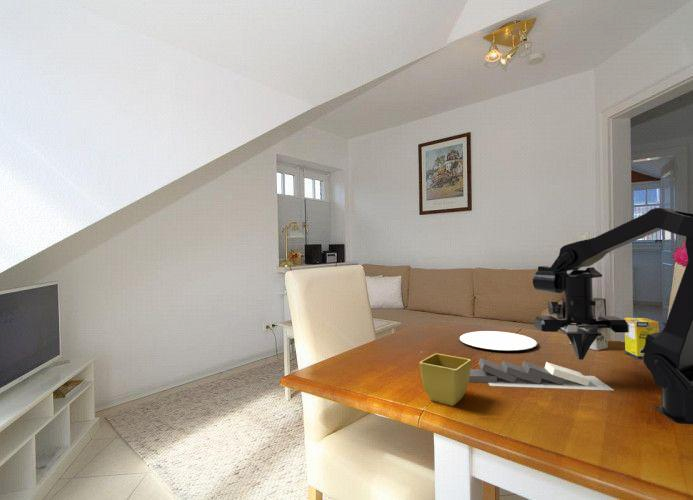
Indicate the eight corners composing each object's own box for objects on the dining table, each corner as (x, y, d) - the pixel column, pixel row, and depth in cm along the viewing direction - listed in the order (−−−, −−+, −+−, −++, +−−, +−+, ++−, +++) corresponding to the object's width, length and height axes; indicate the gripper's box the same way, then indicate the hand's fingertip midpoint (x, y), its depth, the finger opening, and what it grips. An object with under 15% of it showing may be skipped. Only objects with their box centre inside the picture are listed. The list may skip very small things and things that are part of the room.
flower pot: (436, 389, 84) (435, 352, 84) (472, 398, 79) (471, 358, 79) (419, 402, 78) (418, 362, 78) (457, 413, 72) (456, 370, 72)
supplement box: (660, 359, 100) (659, 321, 100) (636, 359, 102) (635, 321, 102) (647, 353, 106) (646, 317, 106) (624, 352, 107) (623, 317, 107)
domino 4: (564, 379, 84) (529, 367, 85) (562, 385, 84) (527, 373, 85) (555, 371, 88) (523, 360, 90) (553, 377, 89) (521, 366, 90)
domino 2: (516, 377, 85) (484, 364, 87) (513, 383, 86) (481, 369, 87) (510, 370, 90) (480, 357, 92) (508, 376, 90) (478, 363, 92)
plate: (445, 339, 131) (445, 334, 131) (500, 332, 138) (500, 328, 138) (492, 358, 107) (492, 353, 107) (555, 349, 114) (555, 344, 114)
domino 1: (496, 376, 86) (462, 376, 88) (496, 382, 86) (463, 382, 88) (491, 369, 91) (460, 369, 93) (492, 375, 91) (460, 375, 93)
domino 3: (541, 378, 84) (507, 367, 86) (539, 384, 84) (505, 373, 86) (534, 370, 89) (502, 360, 91) (532, 376, 89) (500, 366, 91)
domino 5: (589, 379, 82) (554, 368, 84) (587, 386, 83) (552, 374, 84) (579, 372, 87) (546, 361, 89) (577, 378, 88) (544, 367, 89)
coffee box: (609, 348, 113) (607, 298, 113) (597, 351, 110) (595, 300, 110) (579, 341, 121) (578, 295, 121) (568, 344, 118) (566, 297, 118)
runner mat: (614, 392, 80) (614, 390, 80) (489, 387, 85) (489, 385, 85) (594, 377, 89) (593, 376, 89) (482, 374, 94) (482, 372, 94)
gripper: (603, 290, 91) (604, 350, 91) (526, 291, 95) (528, 348, 95) (629, 296, 80) (631, 364, 80) (541, 297, 84) (543, 362, 84)
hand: (580, 359), depth 85 cm, fingers closed
